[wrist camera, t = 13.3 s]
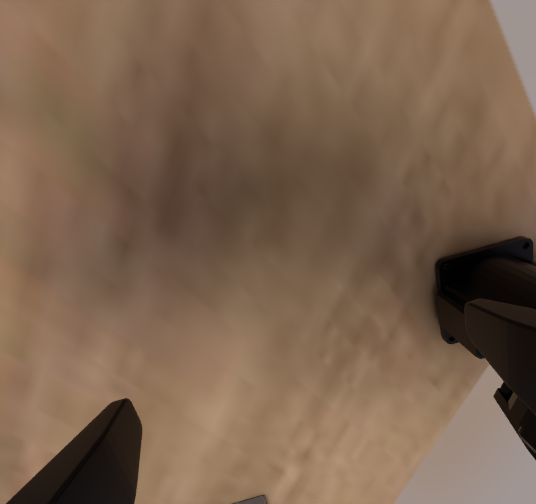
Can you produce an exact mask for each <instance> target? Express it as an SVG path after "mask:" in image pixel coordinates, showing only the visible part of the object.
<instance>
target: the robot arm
mask: <svg viewBox="0 0 536 504" xmlns="http://www.w3.org/2000/svg"><path fill="white" fill-rule="evenodd" d="M524 243H525V244H524ZM523 244H524V246H523V247H522V245H523ZM445 264H447V265H446V267H445V268H444V269H443V266H444V265H445ZM436 277H437V287H438V291H437V293H436V299H437V310H438V320H439V325H440V326H441V330H442V338H443V340H444V341H446V342H447V343H448V344H454V343H458V342H460V343H461V344H462V345H463V346H464V347H465V348H466V349H468V350H469V351H470V352H471V353H472V354H473V355H474V356H476V357H478V358H479V359H483V358H485V359H486V360H487V361H488V362H489V364H490V365H491V366H492V367H493V369H494V370H495V371H496V372H497V374H498V375H499V376H500V377H501V378H502V379H503V381H504V382H503V384H502V386H501V388H498V389H497V391H496V392H495V394H494V398H495V400H496V401H497V403H498V404H499V406H500V408H501V409H502V411H503V412H504V413H505V415H506V417H507V418H508V420H509V421H510V423H511V425H512V426H513V428H514V429H515V431H516V432H517V434H518V435H519V437H520V438H521V440H522V442H523V443H524V445H525V446H526V448H527V449H528V451H529V452H530V453H531V455H532V456H533V457H534V458H535V460H536V262H533V241H532V240H531V239H529V238H526V237H519V238H516V239H512V240H508V241H505V242H501V243H498V244H494V245H490V246H487V247H483V248H479V249H476V250H472V251H468V252H465V253H461V254H458V255H454V256H450V257H447V258H443V259H441V260H439V261H438V262H437V264H436ZM451 335H452V336H451ZM450 336H451V337H450ZM449 337H450V338H449ZM141 440H142V424H141V421H140V419H139V417H138V415H137V413H136V410H135V408H134V406H133V404H132V402H131V401H130V400H129V399H127V398H125V399H121V400H117V401H114V402H112V403H110V404H109V405H108V406H107V407H106V408H105V409H104V410H103V411H102V412H101V413H100V414H99V415H98V416H97V417H96V418H95V419H94V420H92V421H91V422H90V423H89V424H88V425H87V426H86V427H85V428H84V429H83V430H82V431H81V432H80V433H79V434H78V435H77V436H76V437H75V438H74V439H73V440H72V441H71V442H70V443H69V444H68V445H66V446H65V447H64V448H63V449H62V450H61V451H60V452H59V453H58V454H57V455H56V456H55V457H54V458H53V459H52V460H51V461H50V462H49V463H48V464H47V465H46V466H45V467H44V468H43V469H41V470H40V471H39V472H38V473H37V474H36V475H35V476H34V477H33V478H32V479H31V480H30V481H29V482H28V483H27V484H26V485H25V486H24V487H23V488H22V489H21V490H20V491H19V492H18V493H17V494H15V495H14V496H13V497H12V498H11V499H10V500H9V501H8V502H7V503H6V504H134V502H135V496H136V489H137V481H138V471H139V460H140V450H141Z"/></svg>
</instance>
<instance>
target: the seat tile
mask: <svg viewBox="0 0 536 504" xmlns="http://www.w3.org/2000/svg"><path fill="white" fill-rule="evenodd" d="M235 504H267V502H266V499H265V497H264V495H263V496H259V497H256V498H252V499H249V500H245V501H242V502H238V503H235Z"/></svg>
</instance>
